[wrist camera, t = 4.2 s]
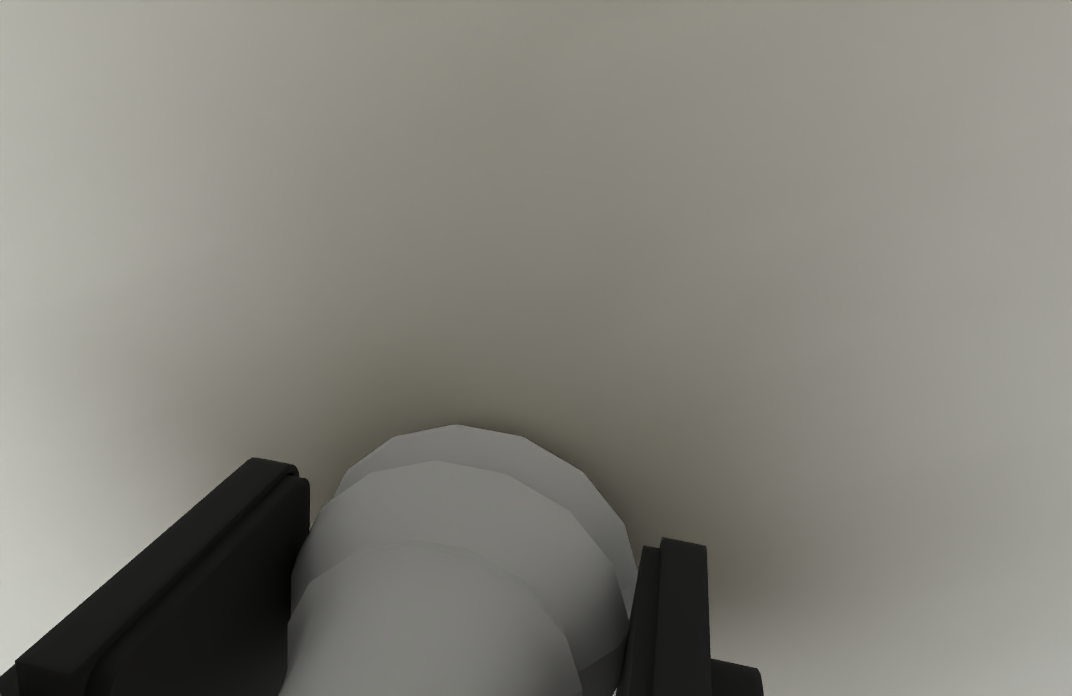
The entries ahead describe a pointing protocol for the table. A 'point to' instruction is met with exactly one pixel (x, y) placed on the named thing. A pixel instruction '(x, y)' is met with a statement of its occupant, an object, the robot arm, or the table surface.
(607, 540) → the rook chess piece
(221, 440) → the table surface
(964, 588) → the table surface
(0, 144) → the table surface
